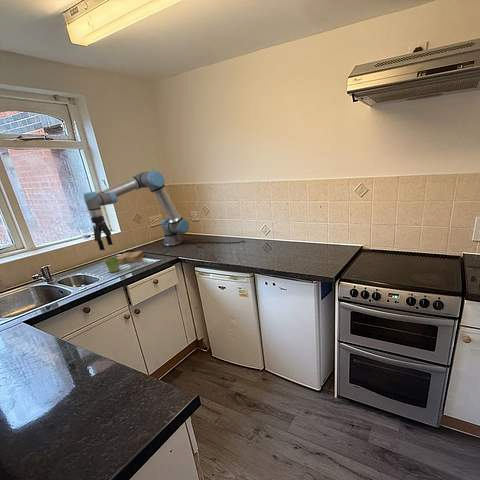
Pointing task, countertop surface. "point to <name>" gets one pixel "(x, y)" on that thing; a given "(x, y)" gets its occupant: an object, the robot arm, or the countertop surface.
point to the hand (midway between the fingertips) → (106, 247)
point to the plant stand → (131, 257)
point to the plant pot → (112, 264)
